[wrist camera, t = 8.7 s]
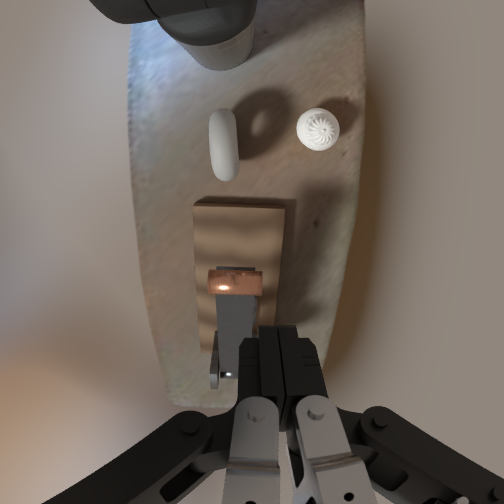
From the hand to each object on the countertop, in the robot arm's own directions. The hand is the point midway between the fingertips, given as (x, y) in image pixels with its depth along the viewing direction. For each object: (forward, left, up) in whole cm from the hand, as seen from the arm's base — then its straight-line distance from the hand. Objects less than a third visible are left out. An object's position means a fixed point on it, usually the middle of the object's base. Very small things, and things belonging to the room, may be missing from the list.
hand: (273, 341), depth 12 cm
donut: (-6, 0, -37) cm, 38 cm away
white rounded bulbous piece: (+1, +11, -37) cm, 39 cm away
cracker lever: (+13, -16, -29) cm, 36 cm away
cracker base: (+13, -16, -37) cm, 42 cm away
